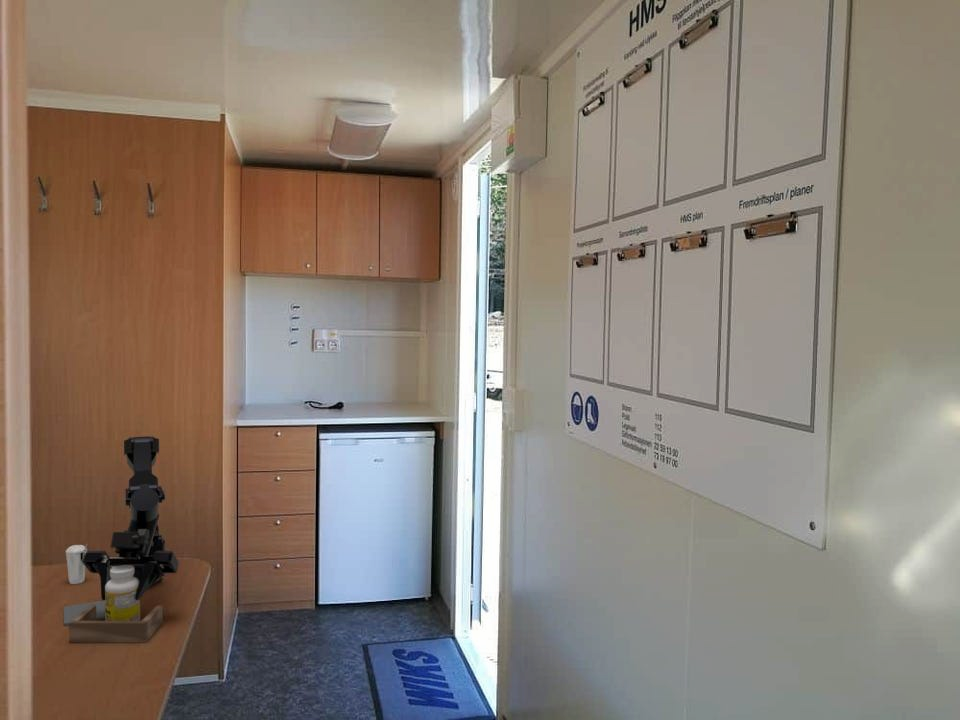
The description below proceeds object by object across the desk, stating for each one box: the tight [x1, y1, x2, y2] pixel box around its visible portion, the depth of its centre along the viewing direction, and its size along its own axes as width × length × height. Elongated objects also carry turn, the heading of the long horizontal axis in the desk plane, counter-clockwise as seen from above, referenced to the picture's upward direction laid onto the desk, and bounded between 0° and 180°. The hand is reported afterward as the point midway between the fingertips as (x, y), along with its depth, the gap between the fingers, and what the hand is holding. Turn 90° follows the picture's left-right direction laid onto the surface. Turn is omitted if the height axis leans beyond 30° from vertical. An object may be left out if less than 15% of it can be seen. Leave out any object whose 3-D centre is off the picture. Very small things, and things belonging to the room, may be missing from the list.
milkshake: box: [65, 542, 89, 585], centre depth 181 cm, size 5×5×10 cm
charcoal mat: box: [63, 600, 105, 627], centre depth 163 cm, size 10×10×1 cm
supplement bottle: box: [104, 565, 141, 621], centre depth 156 cm, size 7×7×13 cm
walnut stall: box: [68, 604, 164, 643], centre depth 154 cm, size 9×15×4 cm, turn 93°
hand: (119, 599), depth 155 cm, fingers closed on supplement bottle, 7 cm apart
